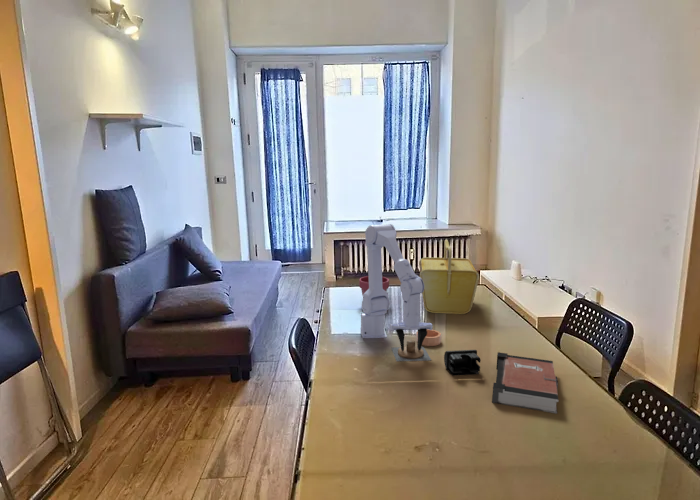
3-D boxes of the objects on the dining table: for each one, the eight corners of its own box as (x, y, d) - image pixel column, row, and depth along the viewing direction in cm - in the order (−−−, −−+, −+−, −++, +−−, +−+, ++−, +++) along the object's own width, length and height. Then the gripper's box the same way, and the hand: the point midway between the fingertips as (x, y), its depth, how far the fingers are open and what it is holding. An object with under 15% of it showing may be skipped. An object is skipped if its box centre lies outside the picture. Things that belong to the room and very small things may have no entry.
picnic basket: (418, 296, 233) (419, 238, 228) (469, 297, 230) (472, 239, 224) (418, 314, 205) (420, 248, 199) (477, 316, 201) (481, 249, 196)
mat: (396, 362, 154) (396, 361, 154) (391, 348, 166) (391, 347, 166) (431, 361, 155) (431, 360, 155) (423, 347, 167) (423, 346, 167)
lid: (400, 359, 156) (400, 346, 155) (395, 348, 165) (396, 337, 164) (426, 358, 156) (426, 346, 156) (420, 348, 165) (420, 336, 164)
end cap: (472, 365, 152) (473, 346, 151) (481, 375, 145) (482, 355, 144) (443, 367, 151) (444, 348, 149) (450, 377, 144) (451, 356, 142)
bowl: (419, 347, 167) (419, 338, 167) (414, 338, 176) (414, 329, 175) (443, 346, 168) (443, 337, 167) (437, 337, 177) (437, 328, 176)
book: (560, 415, 122) (561, 398, 121) (491, 404, 128) (492, 387, 127) (553, 374, 146) (555, 359, 145) (496, 366, 152) (497, 352, 151)
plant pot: (389, 309, 211) (390, 282, 209) (359, 309, 211) (359, 282, 209) (387, 300, 225) (388, 275, 223) (359, 300, 225) (359, 275, 223)
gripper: (392, 316, 153) (392, 354, 156) (435, 315, 154) (433, 353, 157) (389, 309, 160) (388, 346, 163) (430, 309, 161) (429, 345, 164)
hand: (410, 349), depth 160 cm, fingers open, 5 cm apart
